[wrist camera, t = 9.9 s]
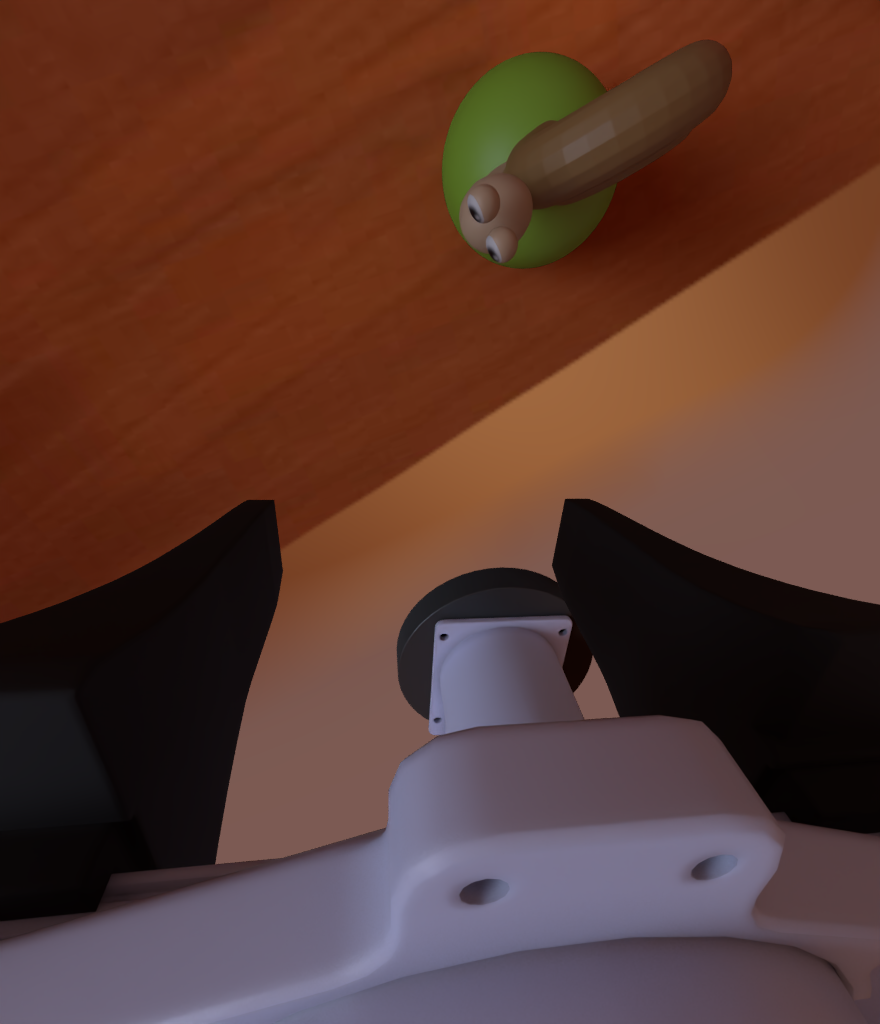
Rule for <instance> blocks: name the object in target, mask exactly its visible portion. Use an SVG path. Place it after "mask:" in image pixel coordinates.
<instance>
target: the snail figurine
mask: <svg viewBox="0 0 880 1024" xmlns="http://www.w3.org/2000/svg"><path fill="white" fill-rule="evenodd" d="M731 77H732V61H731V58H730V55H729V53H728V51H727V49H726V48H725V47H724V46H723V45H721V44H720V43H718V42H716V41H713V40H701V41H697V42H694V43H692V44H689V45H687V46H685V47H683V48H681V49H679V50H677V51H675V52H674V53H672V54H670V55H668V56H667V57H665V58H663V59H661V60H660V61H658V62H656V63H655V64H653V65H651V66H649V67H648V68H646V69H644V70H643V71H641V72H639V73H638V74H636V75H635V76H633V77H631V78H630V79H628V80H626V81H625V82H623V83H621V84H620V85H618V86H616V87H615V88H613V89H611V90H609V91H608V92H607V91H606V89H605V88H604V86H603V85H602V84H601V82H600V81H599V80H598V79H597V77H596V76H595V75H594V74H593V73H592V72H591V71H590V70H588V69H587V68H586V67H585V66H583V65H582V64H580V63H579V62H577V61H575V60H573V59H571V58H569V57H566V56H564V55H560V54H556V53H550V52H533V53H526V54H522V55H518V56H515V57H513V58H510V59H508V60H506V61H504V62H502V63H500V64H499V65H497V66H495V67H494V68H493V69H491V70H490V71H489V72H487V73H486V74H485V75H484V76H483V77H482V78H481V79H480V80H479V81H478V82H477V83H476V84H475V85H474V86H473V87H472V88H471V90H470V91H469V92H468V94H467V95H466V96H465V98H464V99H463V101H462V102H461V104H460V106H459V108H458V110H457V111H456V114H455V116H454V118H453V120H452V123H451V125H450V128H449V131H448V134H447V138H446V142H445V147H444V153H443V162H442V181H443V190H444V196H445V201H446V204H447V208H448V211H449V214H450V216H451V218H452V221H453V223H454V225H455V227H456V228H457V230H458V232H459V233H460V235H461V236H462V237H463V239H464V240H465V241H466V242H467V244H468V245H469V246H470V247H471V248H472V249H473V250H475V251H476V252H477V253H478V254H480V255H481V256H483V257H484V258H486V259H487V260H489V261H491V262H493V263H496V264H499V265H502V266H505V267H510V268H521V269H524V268H535V267H540V266H543V265H547V264H550V263H552V262H555V261H557V260H559V259H561V258H562V257H564V256H566V255H567V254H569V253H570V252H572V251H573V250H574V249H576V248H577V247H578V246H579V245H580V244H582V243H583V242H584V241H585V240H586V239H587V237H588V236H589V235H590V234H591V233H592V232H593V230H594V229H595V228H596V226H597V225H598V224H599V222H600V221H601V219H602V217H603V216H604V214H605V212H606V210H607V208H608V206H609V204H610V202H611V199H612V197H613V194H614V191H615V188H616V185H617V182H619V181H621V180H623V179H625V178H626V177H628V176H630V175H631V174H633V173H635V172H637V171H638V170H640V169H642V168H643V167H645V166H647V165H648V164H650V163H651V162H653V161H655V160H656V159H658V158H659V157H661V156H662V155H664V154H665V153H667V152H668V151H670V150H671V149H672V148H674V147H675V146H676V145H678V144H679V143H680V142H681V141H683V140H684V139H685V138H686V137H687V135H688V134H689V133H690V132H691V130H692V129H693V128H695V127H696V126H697V125H699V124H700V123H701V122H702V121H704V120H705V119H706V118H708V117H709V116H710V115H711V114H712V113H713V112H714V111H715V110H716V108H717V107H718V106H719V104H720V103H721V101H722V100H723V98H724V97H725V95H726V93H727V90H728V87H729V84H730V81H731Z"/></svg>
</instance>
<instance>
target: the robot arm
mask: <svg viewBox="0 0 880 1024" xmlns="http://www.w3.org/2000/svg"><path fill="white" fill-rule="evenodd" d="M552 567H553V570H554V573H555V576H556V579H557V582H558V585H559V588H560V591H561V594H562V596H563V599H564V601H565V603H566V605H567V607H568V609H569V610H570V612H571V614H572V616H573V618H574V620H575V622H576V624H577V626H578V628H579V630H580V632H581V634H582V635H583V637H584V639H585V641H586V643H587V645H588V647H589V649H590V651H591V652H592V654H593V656H594V658H595V660H596V662H597V664H598V666H599V668H600V670H601V672H602V674H603V676H604V679H605V681H606V683H607V685H608V688H609V691H610V693H611V695H612V698H613V701H614V703H615V706H616V709H617V711H618V714H619V716H620V717H619V718H603V719H588V720H584V717H583V715H582V713H581V711H580V708H579V706H578V704H577V701H576V699H575V697H574V695H573V692H572V690H571V688H570V685H569V683H568V681H567V678H566V676H565V674H564V671H563V669H562V666H563V662H564V658H565V654H566V650H567V645H568V641H569V637H570V633H571V629H572V621H571V619H570V617H569V616H567V615H554V616H525V617H496V618H468V619H443V620H440V621H438V622H437V623H436V625H435V636H434V652H433V667H432V683H431V699H430V715H429V732H430V733H431V734H433V735H439V736H437V737H435V738H434V739H432V740H431V741H430V742H428V743H427V744H425V745H424V746H423V747H421V748H420V749H418V750H417V751H415V752H414V753H412V754H411V755H409V756H408V757H407V758H405V759H404V760H403V761H402V762H401V763H400V766H399V768H398V770H397V772H396V774H395V777H394V779H393V781H392V784H391V786H390V788H389V818H388V823H387V827H386V828H384V829H380V830H377V831H373V832H370V833H366V834H363V835H359V836H356V837H353V838H349V839H346V840H343V841H339V842H336V843H332V844H329V845H326V846H322V847H318V848H315V849H312V850H309V851H305V852H302V853H298V854H295V855H291V856H288V857H284V858H278V859H268V860H257V861H246V862H235V863H224V864H215V861H216V855H217V848H218V842H219V837H220V831H221V825H222V820H223V813H224V808H225V802H226V797H227V791H228V786H229V780H230V775H231V770H232V765H233V760H234V755H235V750H236V744H237V740H238V735H239V730H240V726H241V721H242V716H243V712H244V707H245V702H246V699H247V695H248V692H249V688H250V685H251V681H252V678H253V675H254V672H255V669H256V666H257V664H258V660H259V658H260V655H261V652H262V649H263V646H264V642H265V640H266V636H267V634H268V631H269V628H270V625H271V622H272V619H273V616H274V612H275V609H276V606H277V601H278V596H279V590H280V584H281V578H282V573H283V569H282V561H281V552H280V544H279V536H278V528H277V520H276V512H275V504H274V500H247V501H245V502H243V503H241V504H240V505H238V506H237V507H235V508H234V509H232V510H231V511H229V512H228V513H227V514H225V515H224V516H222V517H221V518H219V519H218V520H217V521H215V522H214V523H212V524H211V525H209V526H208V527H206V528H205V529H204V530H202V531H201V532H199V533H198V534H196V535H195V536H193V537H192V538H190V539H188V540H187V541H185V542H184V543H182V544H180V545H179V546H177V547H175V548H174V549H172V550H171V551H169V552H167V553H166V554H164V555H162V556H161V557H159V558H157V559H156V560H154V561H152V562H150V563H148V564H146V565H145V566H143V567H141V568H139V569H137V570H135V571H133V572H131V573H129V574H127V575H125V576H123V577H121V578H119V579H117V580H114V581H112V582H110V583H108V584H105V585H103V586H101V587H98V588H96V589H93V590H91V591H89V592H86V593H84V594H81V595H79V596H76V597H74V598H72V599H69V600H67V601H64V602H62V603H59V604H56V605H54V606H51V607H48V608H45V609H42V610H40V611H37V612H34V613H31V614H28V615H25V616H22V617H19V618H16V619H13V620H10V621H6V622H3V623H0V1024H880V605H878V604H873V603H867V602H862V601H857V600H852V599H847V598H843V597H838V596H834V595H830V594H826V593H822V592H817V591H813V590H809V589H806V588H802V587H798V586H795V585H791V584H787V583H784V582H781V581H777V580H774V579H771V578H768V577H764V576H761V575H758V574H755V573H752V572H749V571H746V570H743V569H740V568H737V567H734V566H732V565H729V564H727V563H724V562H721V561H719V560H716V559H714V558H711V557H709V556H706V555H703V554H701V553H699V552H697V551H694V550H692V549H690V548H688V547H686V546H684V545H681V544H679V543H677V542H675V541H673V540H671V539H669V538H667V537H665V536H663V535H661V534H659V533H656V532H654V531H653V530H651V529H649V528H647V527H645V526H643V525H641V524H639V523H637V522H635V521H633V520H632V519H630V518H628V517H626V516H624V515H622V514H620V513H618V512H616V511H614V510H612V509H610V508H609V507H606V506H604V505H602V504H600V503H598V502H596V501H593V500H590V499H565V502H564V507H563V512H562V517H561V523H560V528H559V533H558V538H557V543H556V548H555V553H554V558H553V563H552ZM561 629H564V630H562V631H560V630H561ZM441 634H446V635H444V636H442V635H441ZM437 717H438V718H437Z"/></svg>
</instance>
